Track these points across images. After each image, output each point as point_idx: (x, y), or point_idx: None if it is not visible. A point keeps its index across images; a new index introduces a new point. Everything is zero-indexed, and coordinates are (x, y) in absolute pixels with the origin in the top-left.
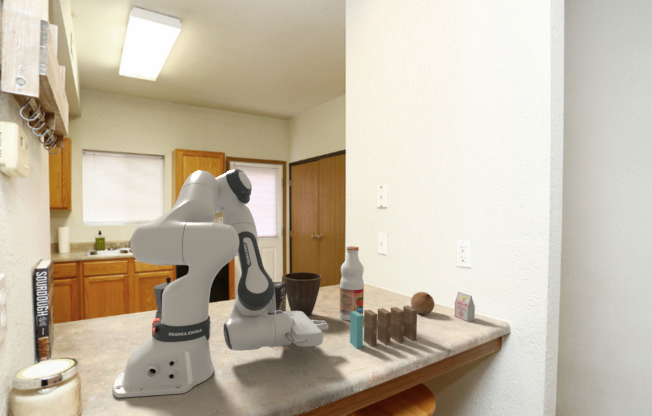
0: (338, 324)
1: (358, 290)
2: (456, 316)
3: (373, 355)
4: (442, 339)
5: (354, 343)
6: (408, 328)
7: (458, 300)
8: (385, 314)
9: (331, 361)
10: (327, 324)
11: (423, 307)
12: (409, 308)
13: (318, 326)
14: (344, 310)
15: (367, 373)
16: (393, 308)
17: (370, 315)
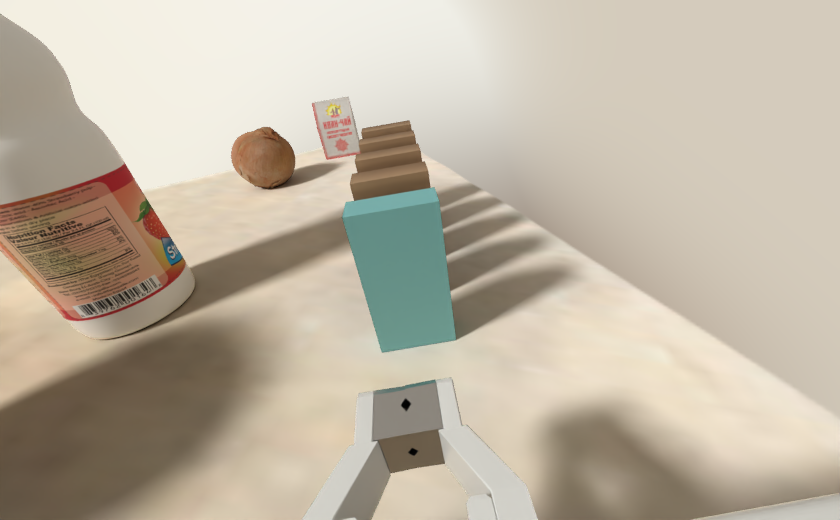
0: (159, 361)
1: (120, 172)
2: (331, 156)
3: (527, 299)
4: (431, 180)
5: (430, 333)
6: None
7: (323, 120)
8: (420, 155)
9: (638, 506)
10: (451, 383)
11: (285, 162)
12: (389, 126)
13: (525, 493)
14: (114, 296)
15: (729, 347)
16: (372, 141)
17: (416, 179)
